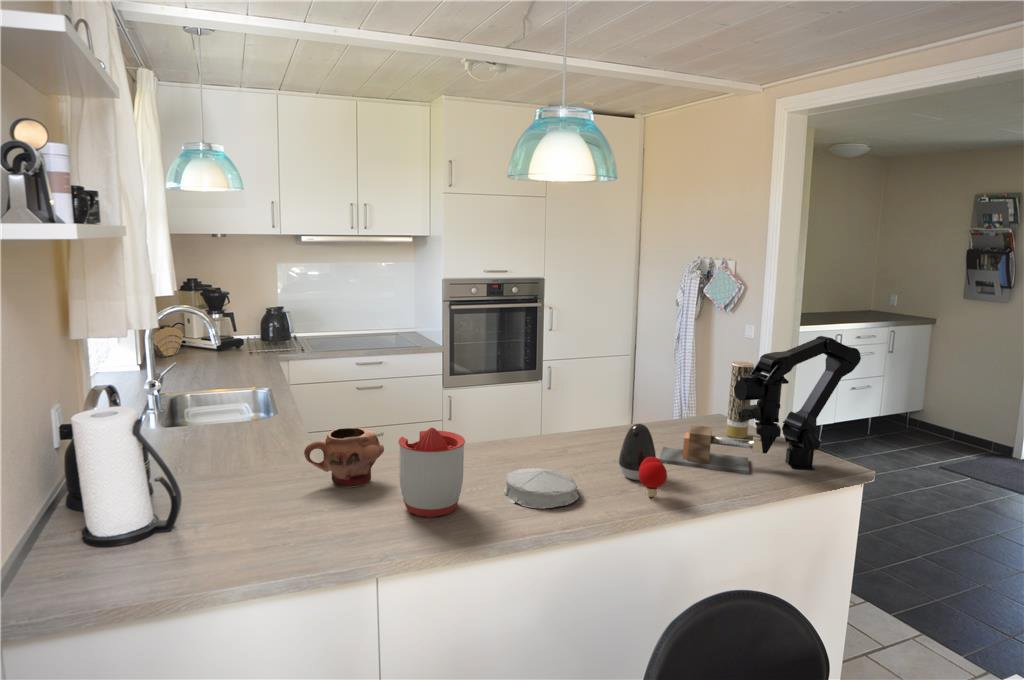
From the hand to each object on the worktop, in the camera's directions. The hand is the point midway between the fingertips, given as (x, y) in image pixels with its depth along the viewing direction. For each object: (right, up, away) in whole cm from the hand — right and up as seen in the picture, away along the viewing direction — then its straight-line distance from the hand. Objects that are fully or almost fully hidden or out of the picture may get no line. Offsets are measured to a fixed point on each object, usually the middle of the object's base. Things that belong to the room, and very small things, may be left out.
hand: (764, 451), depth 193 cm
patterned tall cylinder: (+3, -1, +32) cm, 32 cm away
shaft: (-9, 0, +3) cm, 9 cm away
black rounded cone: (-39, -6, -8) cm, 40 cm away
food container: (-65, -8, -22) cm, 69 cm away
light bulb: (-37, -8, -22) cm, 44 cm away
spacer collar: (-21, -3, +7) cm, 22 cm away
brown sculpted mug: (-116, -5, -19) cm, 118 cm away
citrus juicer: (-93, -8, -32) cm, 99 cm away
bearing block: (-16, -4, +6) cm, 17 cm away
